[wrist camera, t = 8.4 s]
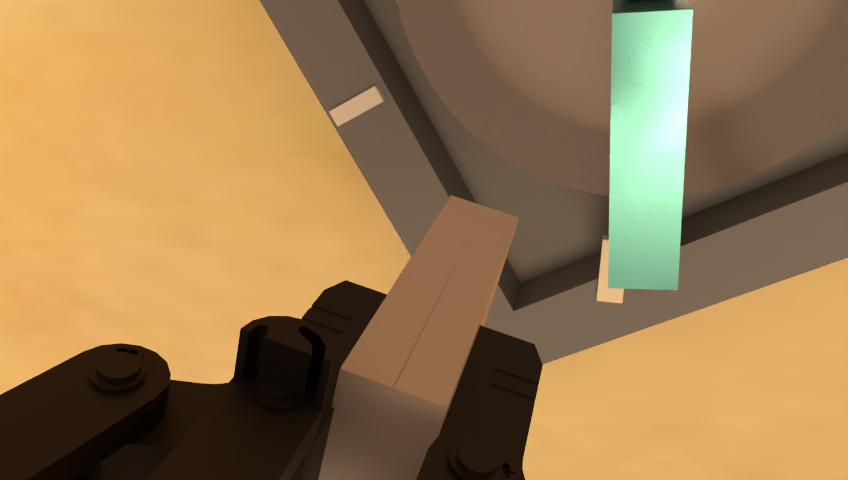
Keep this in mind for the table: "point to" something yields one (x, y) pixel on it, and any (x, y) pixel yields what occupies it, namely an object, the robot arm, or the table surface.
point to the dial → (638, 98)
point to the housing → (551, 192)
